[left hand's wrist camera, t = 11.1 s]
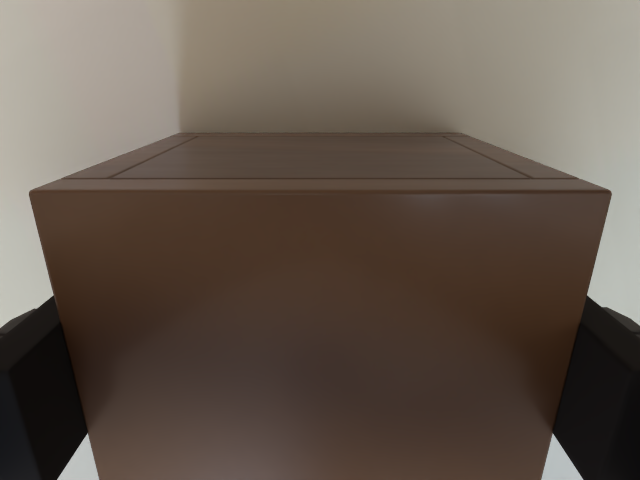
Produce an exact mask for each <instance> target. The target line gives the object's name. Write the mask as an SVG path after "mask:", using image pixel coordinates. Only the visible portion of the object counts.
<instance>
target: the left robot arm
mask: <svg viewBox="0 0 640 480" xmlns="http://www.w3.org/2000/svg"><path fill="white" fill-rule="evenodd" d="M87 433H88V431H87V427H86V423H85V419H84V415H83V411H82V407H81V403H80V399H79V395H78V391H77V387H76V383H75V379H74V375H73V371H72V367H71V363H70V359H69V355H68V351H67V346H66V342H65V338H64V334H63V330H62V326H61V322H60V318H59V314H58V310H57V306H56V302H55V298H54V296H52V297H51V298H50V299H49V300H47V301H46V302H45V303H44V304H42V305H41V306H40V307H39V308H37V309H33V310H31V311H28V312H26V313H24V314H22V315H20V316H18V317H16V318H14V319H12V320H10V321H9V322H8V323H6V324H5V325H4V326H3V327H1V328H0V480H57V479H58V477H59V476H60V474H61V473H62V471H63V470H64V468H65V467H66V465H67V464H68V462H69V461H70V459H71V457H72V456H73V454H74V453H75V451H76V450H77V448H78V447H79V445H80V444H81V442H82V441H83V439H84V438H85V436H86V435H87ZM553 434H554V435H555V437H556V439H557V440H558V442H559V443H560V445H561V446H562V448H563V449H564V451H565V452H566V454H567V455H568V457H569V458H570V460H571V461H572V463H573V464H574V466H575V467H576V469H577V470H578V472H579V473H580V475H581V476H582V478H583V480H640V326H639V325H638V324H637V323H635V322H634V321H633V320H631V319H630V318H628V317H626V316H624V315H622V314H620V313H618V312H616V311H613V310H611V309H609V308H607V307H601V306H599V305H598V304H597V303H596V302H594V301H593V300H592V299H591V298H589V297H588V296H586V300H585V305H584V309H583V313H582V317H581V321H580V325H579V329H578V333H577V337H576V341H575V345H574V349H573V353H572V357H571V361H570V365H569V369H568V373H567V377H566V381H565V385H564V389H563V393H562V397H561V401H560V405H559V409H558V413H557V417H556V421H555V425H554V429H553Z"/></svg>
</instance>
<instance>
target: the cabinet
mask: <svg viewBox="0 0 640 480" xmlns="http://www.w3.org/2000/svg"><path fill="white" fill-rule="evenodd" d="M611 196H612V193H611V191H610V190H608V189H605V188H603V187H600V186H597V185H595V184H592V183H590V182H587V181H584V180H582V179H579V178H577V177H574V176H572V175H569V174H566V173H564V172H561V171H558V170H556V169H553V168H551V167H548V166H545V165H543V164H540V163H538V162H535V161H532V160H530V159H527V158H525V157H522V156H519V155H517V154H514V153H511V152H509V151H506V150H504V149H501V148H498V147H496V146H493V145H491V144H488V143H485V142H483V141H480V140H478V139H475V138H472V137H470V136H467V135H465V134H462V133H178V134H175V135H173V136H170V137H168V138H165V139H162V140H160V141H157V142H155V143H152V144H149V145H147V146H144V147H142V148H139V149H136V150H134V151H131V152H129V153H126V154H123V155H121V156H118V157H116V158H113V159H110V160H108V161H105V162H103V163H100V164H97V165H95V166H92V167H90V168H87V169H84V170H82V171H79V172H77V173H74V174H71V175H69V176H66V177H64V178H61V179H59V180H56V181H54V182H51V183H48V184H46V185H43V186H41V187H38V188H35V189H33V190H31V191H30V192H29V197H30V201H31V205H32V209H33V213H34V217H35V221H36V225H37V229H38V233H39V237H40V241H41V245H42V249H43V254H44V258H45V262H46V266H47V270H48V274H49V278H50V282H51V286H52V290H53V294H54V298H55V302H56V306H57V310H58V314H59V318H60V322H61V326H62V330H63V334H64V338H65V342H66V346H67V351H68V355H69V359H70V363H71V367H72V371H73V375H74V379H75V383H76V387H77V391H78V395H79V399H80V403H81V407H82V411H83V415H84V419H85V423H86V427H87V431H88V435H89V439H90V443H91V448H92V452H93V456H94V460H95V464H96V468H97V472H98V476H99V480H541V478H542V474H543V470H544V466H545V462H546V458H547V454H548V450H549V446H550V442H551V437H552V433H553V429H554V425H555V421H556V417H557V413H558V409H559V405H560V401H561V397H562V393H563V389H564V385H565V381H566V377H567V373H568V369H569V365H570V361H571V357H572V353H573V349H574V345H575V341H576V337H577V333H578V329H579V325H580V321H581V317H582V313H583V309H584V305H585V300H586V296H587V292H588V288H589V284H590V280H591V276H592V272H593V268H594V264H595V260H596V256H597V252H598V248H599V244H600V240H601V236H602V232H603V228H604V224H605V220H606V216H607V212H608V208H609V204H610V200H611Z"/></svg>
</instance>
